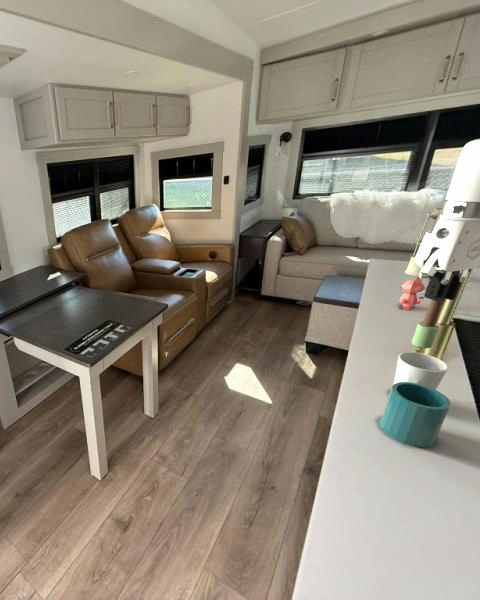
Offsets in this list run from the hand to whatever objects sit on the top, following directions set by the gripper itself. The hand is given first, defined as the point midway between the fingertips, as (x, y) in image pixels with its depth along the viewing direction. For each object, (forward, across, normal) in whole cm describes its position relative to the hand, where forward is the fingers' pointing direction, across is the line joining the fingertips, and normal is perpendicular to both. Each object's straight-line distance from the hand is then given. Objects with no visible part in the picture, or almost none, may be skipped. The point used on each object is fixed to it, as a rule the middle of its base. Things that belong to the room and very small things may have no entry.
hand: (439, 298), depth 67 cm
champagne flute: (+28, +70, +51) cm, 91 cm away
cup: (+28, +2, 0) cm, 28 cm away
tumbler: (+28, -9, -8) cm, 31 cm away
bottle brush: (+12, 0, 0) cm, 12 cm away
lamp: (+28, +88, +64) cm, 112 cm away
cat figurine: (+28, +51, +39) cm, 70 cm away
